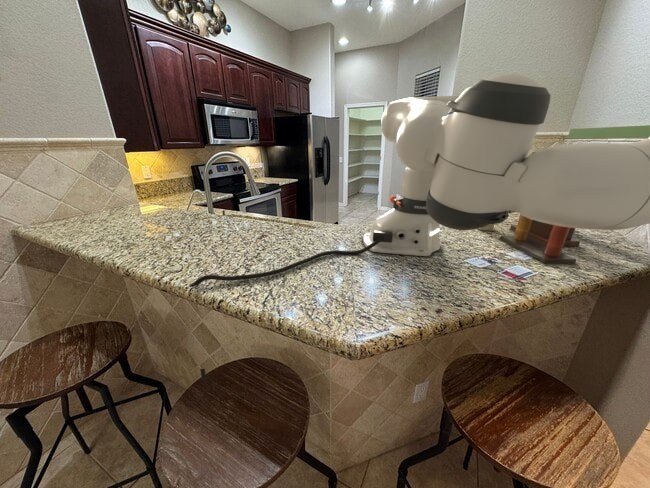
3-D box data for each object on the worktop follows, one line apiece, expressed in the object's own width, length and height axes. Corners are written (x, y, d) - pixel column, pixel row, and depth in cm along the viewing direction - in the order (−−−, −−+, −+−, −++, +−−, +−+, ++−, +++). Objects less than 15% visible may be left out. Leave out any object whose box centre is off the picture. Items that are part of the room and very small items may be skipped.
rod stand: (544, 263, 67) (566, 199, 60) (499, 238, 83) (514, 186, 77) (575, 263, 67) (600, 199, 60) (524, 239, 83) (540, 187, 77)
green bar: (685, 137, 50) (692, 122, 49) (567, 138, 74) (570, 129, 73) (701, 137, 50) (708, 123, 49) (577, 138, 74) (580, 129, 73)
